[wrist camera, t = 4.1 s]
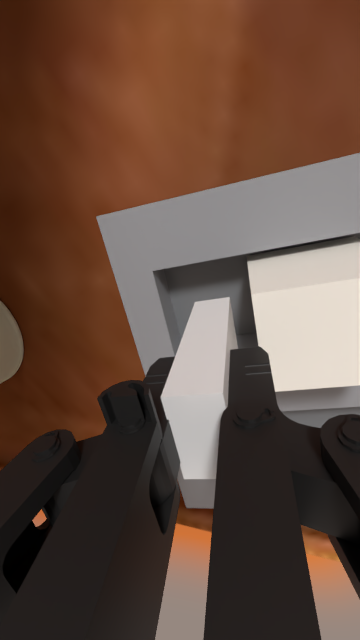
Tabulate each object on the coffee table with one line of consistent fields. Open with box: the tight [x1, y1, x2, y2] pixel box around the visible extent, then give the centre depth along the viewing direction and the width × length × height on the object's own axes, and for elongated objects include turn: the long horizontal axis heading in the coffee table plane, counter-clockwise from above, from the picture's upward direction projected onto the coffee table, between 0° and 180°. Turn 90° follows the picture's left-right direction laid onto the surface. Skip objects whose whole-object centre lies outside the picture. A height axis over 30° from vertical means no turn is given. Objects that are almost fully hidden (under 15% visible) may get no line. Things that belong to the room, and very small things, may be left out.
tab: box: [247, 237, 360, 392], centre depth 13 cm, size 4×5×6 cm
